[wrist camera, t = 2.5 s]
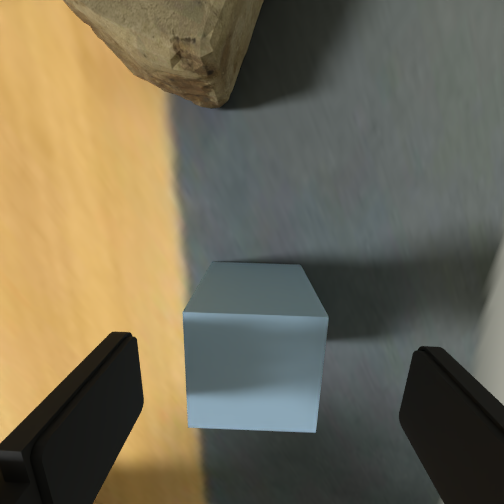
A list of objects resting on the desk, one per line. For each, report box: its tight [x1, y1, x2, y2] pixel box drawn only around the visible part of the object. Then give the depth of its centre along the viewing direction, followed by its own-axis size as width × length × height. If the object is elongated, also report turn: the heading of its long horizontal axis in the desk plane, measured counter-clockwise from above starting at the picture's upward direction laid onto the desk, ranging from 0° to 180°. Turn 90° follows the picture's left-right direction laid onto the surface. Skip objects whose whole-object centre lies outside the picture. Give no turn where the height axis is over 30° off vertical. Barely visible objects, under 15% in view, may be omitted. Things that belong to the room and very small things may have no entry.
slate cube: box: [183, 262, 329, 433], centre depth 12 cm, size 5×5×6 cm
